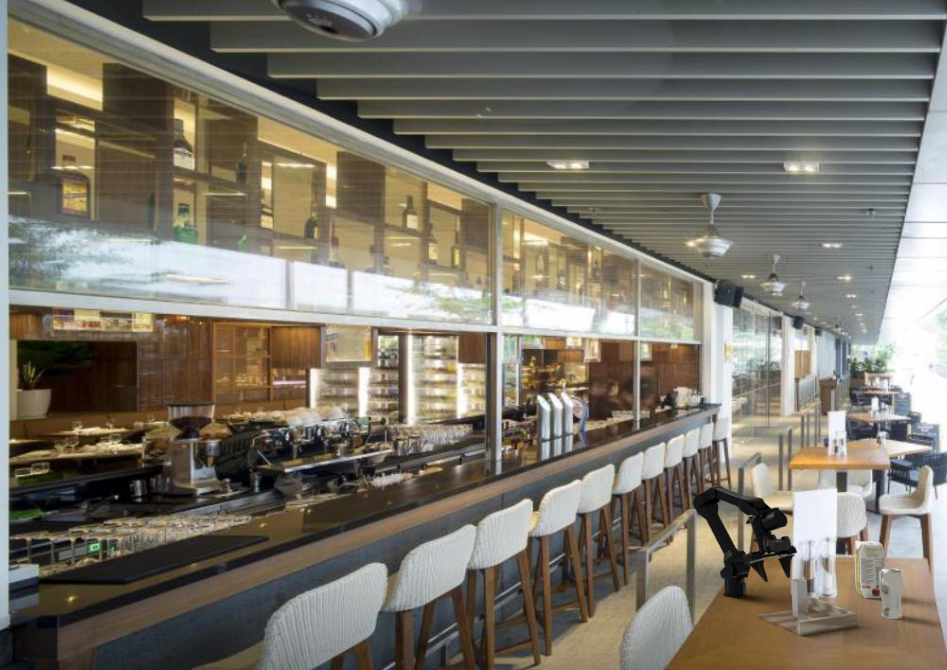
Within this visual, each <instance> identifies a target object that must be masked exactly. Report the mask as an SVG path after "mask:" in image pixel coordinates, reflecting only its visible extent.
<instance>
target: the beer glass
mask: <svg viewBox="0 0 947 670" xmlns="http://www.w3.org/2000/svg"><path fill="white" fill-rule="evenodd" d="M903 585H904V584H903V576H902V571H901V570H900V569H897V568H892V567H885V568H881V569H879V588H880V594H881V598H880V599H881V601H882V602H881V603H882V605H881V606H882V609H881V614H880V615H881V617H883V618H884V619H888V620H901V619H903V615H902V609H901V604H902V603H901V602H902V598H903V597H902V596H903V588H904V587H903Z"/></svg>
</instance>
